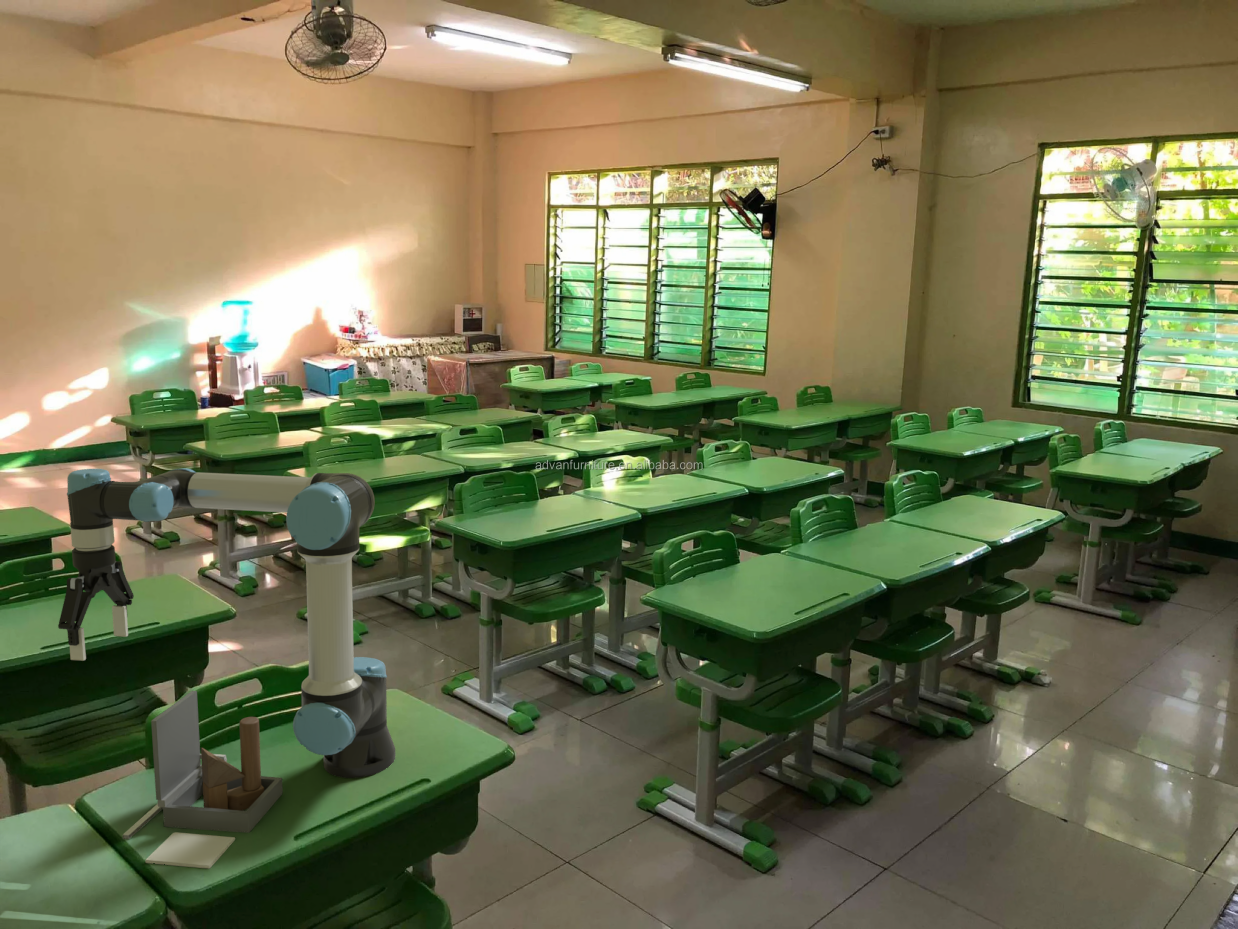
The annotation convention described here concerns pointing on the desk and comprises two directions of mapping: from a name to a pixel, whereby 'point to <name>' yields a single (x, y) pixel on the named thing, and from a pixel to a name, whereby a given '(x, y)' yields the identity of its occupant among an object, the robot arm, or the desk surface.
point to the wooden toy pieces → (234, 772)
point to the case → (196, 775)
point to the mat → (190, 850)
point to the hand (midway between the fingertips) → (100, 647)
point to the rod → (142, 822)
